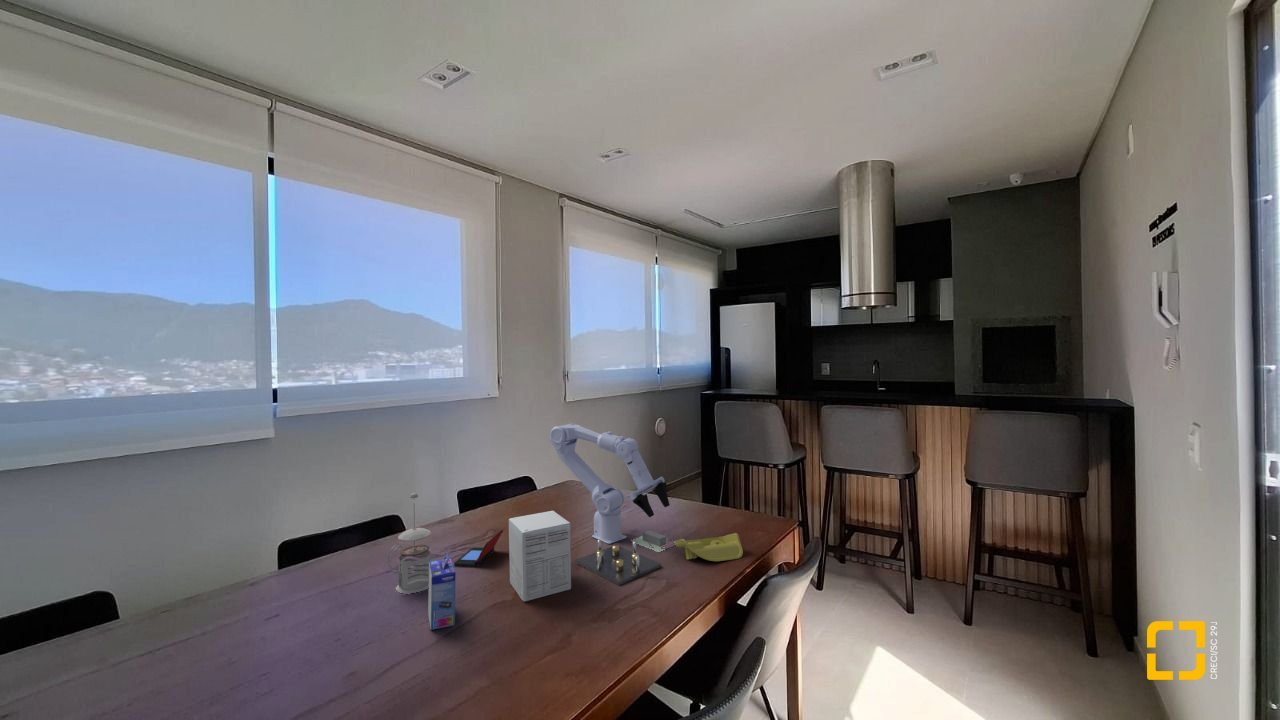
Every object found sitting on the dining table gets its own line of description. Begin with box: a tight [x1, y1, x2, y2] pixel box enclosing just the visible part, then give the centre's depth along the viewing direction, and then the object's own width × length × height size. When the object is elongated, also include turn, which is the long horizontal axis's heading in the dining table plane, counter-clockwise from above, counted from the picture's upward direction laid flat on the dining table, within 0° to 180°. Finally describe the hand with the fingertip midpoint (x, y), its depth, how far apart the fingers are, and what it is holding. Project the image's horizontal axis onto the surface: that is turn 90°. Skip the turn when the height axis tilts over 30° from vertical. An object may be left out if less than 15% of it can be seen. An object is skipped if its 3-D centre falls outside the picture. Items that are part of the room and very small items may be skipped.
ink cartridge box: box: [427, 552, 457, 631], centre depth 111 cm, size 10×6×14 cm, turn 27°
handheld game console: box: [453, 529, 504, 568], centre depth 145 cm, size 12×11×7 cm
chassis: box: [575, 539, 662, 586], centre depth 138 cm, size 20×16×5 cm
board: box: [633, 530, 667, 553], centre depth 155 cm, size 14×10×3 cm
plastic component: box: [673, 532, 744, 562], centre depth 143 cm, size 20×7×10 cm
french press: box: [386, 492, 432, 594], centre depth 127 cm, size 10×12×25 cm
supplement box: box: [508, 510, 572, 603], centre depth 126 cm, size 13×13×18 cm
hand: (659, 511), depth 151 cm, fingers open, 7 cm apart
